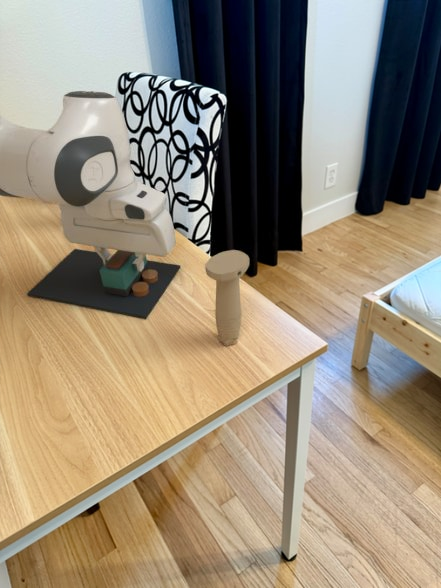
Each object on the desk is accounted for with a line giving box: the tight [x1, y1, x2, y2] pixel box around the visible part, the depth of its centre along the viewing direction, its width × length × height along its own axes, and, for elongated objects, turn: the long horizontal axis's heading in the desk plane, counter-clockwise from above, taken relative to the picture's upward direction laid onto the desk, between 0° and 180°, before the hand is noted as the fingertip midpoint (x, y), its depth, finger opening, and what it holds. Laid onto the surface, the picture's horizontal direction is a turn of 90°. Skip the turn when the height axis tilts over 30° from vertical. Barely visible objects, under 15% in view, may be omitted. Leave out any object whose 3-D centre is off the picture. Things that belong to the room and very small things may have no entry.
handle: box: [204, 249, 250, 347], centre depth 64 cm, size 5×6×15 cm
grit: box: [142, 269, 158, 284], centre depth 81 cm, size 3×3×1 cm
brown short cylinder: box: [132, 282, 149, 297], centre depth 78 cm, size 3×3×1 cm
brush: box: [100, 250, 148, 297], centre depth 79 cm, size 4×9×6 cm, turn 163°
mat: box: [26, 248, 181, 320], centre depth 82 cm, size 24×16×1 cm, turn 73°
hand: (124, 267), depth 79 cm, fingers closed on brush, 4 cm apart
